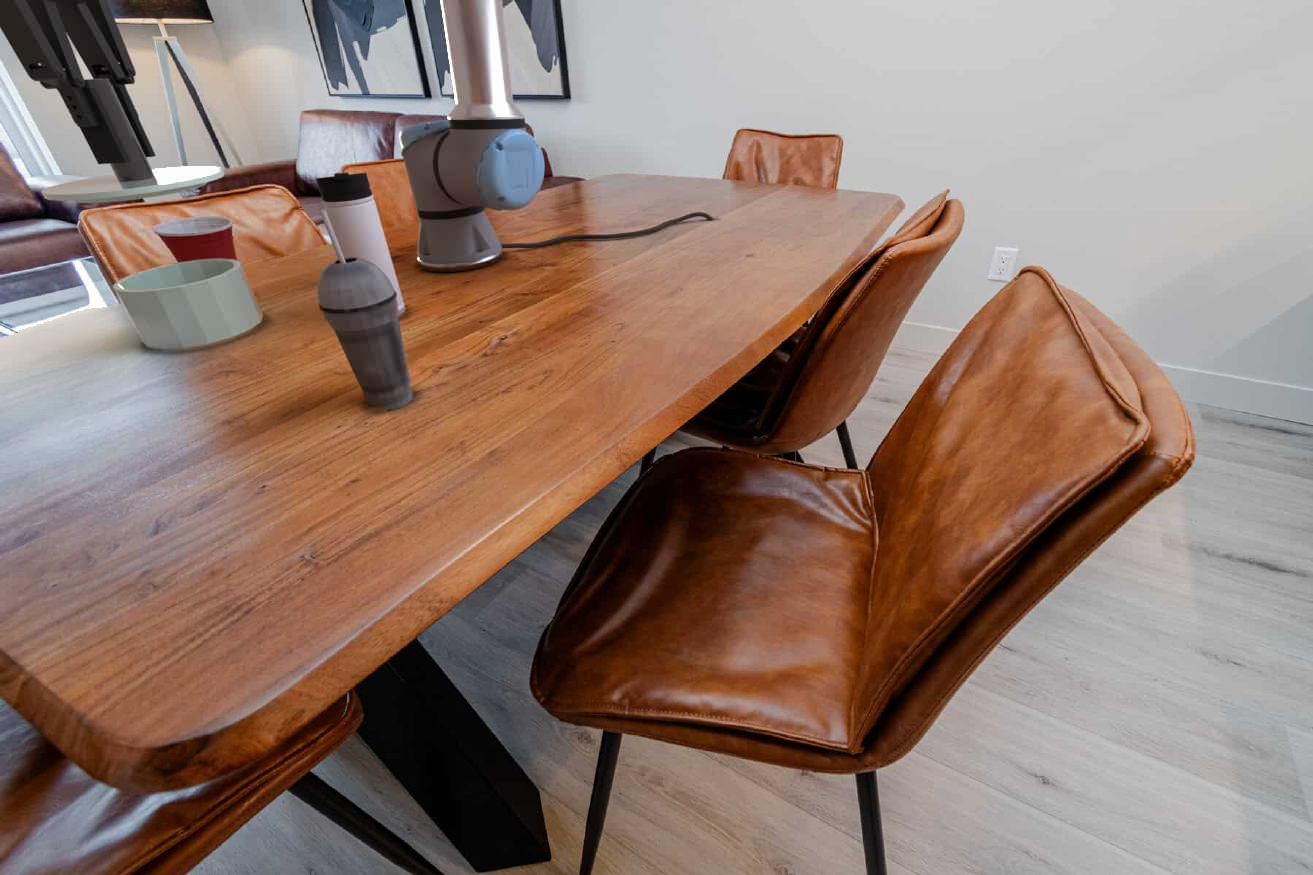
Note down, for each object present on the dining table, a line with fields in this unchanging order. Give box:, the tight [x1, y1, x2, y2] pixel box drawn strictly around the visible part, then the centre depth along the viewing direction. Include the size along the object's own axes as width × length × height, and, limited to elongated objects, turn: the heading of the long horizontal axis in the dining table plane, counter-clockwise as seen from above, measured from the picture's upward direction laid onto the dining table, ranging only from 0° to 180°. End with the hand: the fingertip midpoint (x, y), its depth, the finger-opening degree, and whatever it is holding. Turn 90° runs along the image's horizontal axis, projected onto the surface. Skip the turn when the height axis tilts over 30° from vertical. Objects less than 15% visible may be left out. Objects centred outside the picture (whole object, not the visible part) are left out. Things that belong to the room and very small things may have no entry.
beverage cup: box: [316, 209, 414, 411], centre depth 61 cm, size 7×7×20 cm
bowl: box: [112, 258, 264, 351], centre depth 84 cm, size 15×15×8 cm
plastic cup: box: [151, 215, 238, 263], centre depth 98 cm, size 11×11×12 cm
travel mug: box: [315, 171, 406, 316], centre depth 83 cm, size 6×7×20 cm
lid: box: [40, 78, 225, 204], centre depth 61 cm, size 16×16×10 cm
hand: (127, 159), depth 62 cm, fingers closed on lid, 3 cm apart
